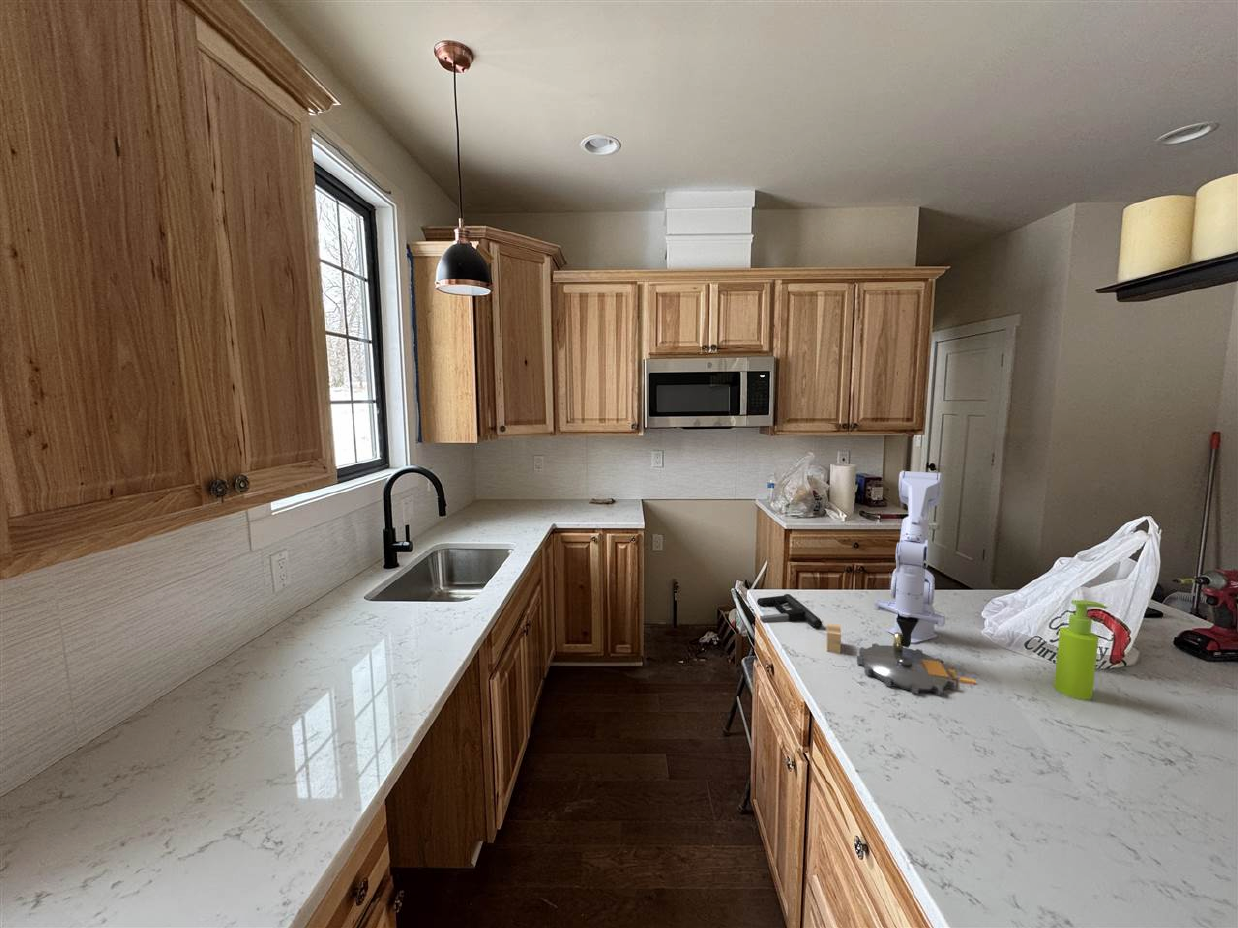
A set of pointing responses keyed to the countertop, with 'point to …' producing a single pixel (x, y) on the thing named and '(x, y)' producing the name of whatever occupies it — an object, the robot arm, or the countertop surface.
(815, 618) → the submachine gun
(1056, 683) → the soap dispenser
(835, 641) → the tan wooden block
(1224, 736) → the countertop surface
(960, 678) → the timing pointer
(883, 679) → the sprocket
